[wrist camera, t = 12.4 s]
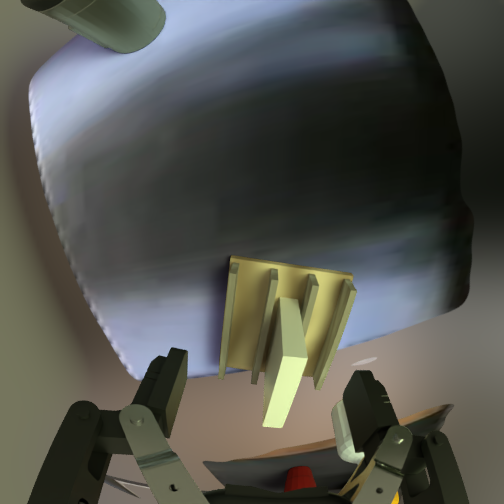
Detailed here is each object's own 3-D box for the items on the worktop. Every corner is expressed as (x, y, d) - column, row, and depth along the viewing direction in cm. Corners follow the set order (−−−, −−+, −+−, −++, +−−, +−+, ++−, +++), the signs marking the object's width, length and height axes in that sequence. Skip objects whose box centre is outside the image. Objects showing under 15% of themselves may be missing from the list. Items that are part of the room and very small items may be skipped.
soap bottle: (321, 412, 44) (335, 526, 21) (358, 385, 42) (391, 505, 19) (349, 425, 46) (369, 525, 22) (384, 400, 43) (418, 504, 20)
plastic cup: (314, 477, 55) (316, 511, 43) (275, 477, 55) (275, 512, 44) (326, 461, 51) (330, 499, 40) (283, 461, 52) (284, 501, 40)
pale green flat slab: (265, 364, 40) (262, 426, 28) (279, 296, 36) (283, 355, 24) (280, 366, 40) (281, 428, 28) (297, 299, 36) (307, 358, 24)
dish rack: (219, 361, 41) (215, 380, 37) (231, 255, 35) (226, 268, 31) (318, 373, 41) (321, 392, 37) (351, 273, 35) (361, 287, 31)
